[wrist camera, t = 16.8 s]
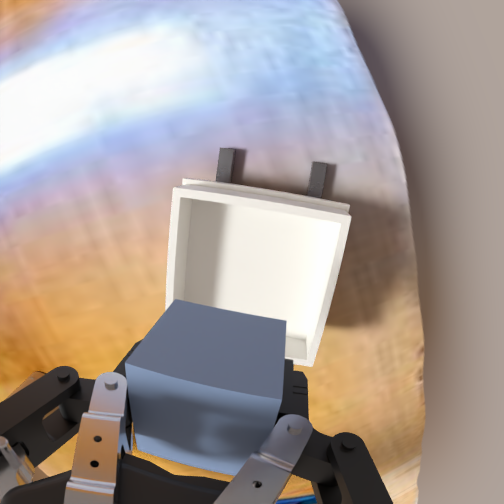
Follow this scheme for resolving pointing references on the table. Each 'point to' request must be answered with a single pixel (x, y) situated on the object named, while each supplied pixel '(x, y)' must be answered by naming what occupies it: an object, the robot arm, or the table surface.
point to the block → (206, 385)
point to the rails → (228, 162)
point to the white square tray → (258, 255)
